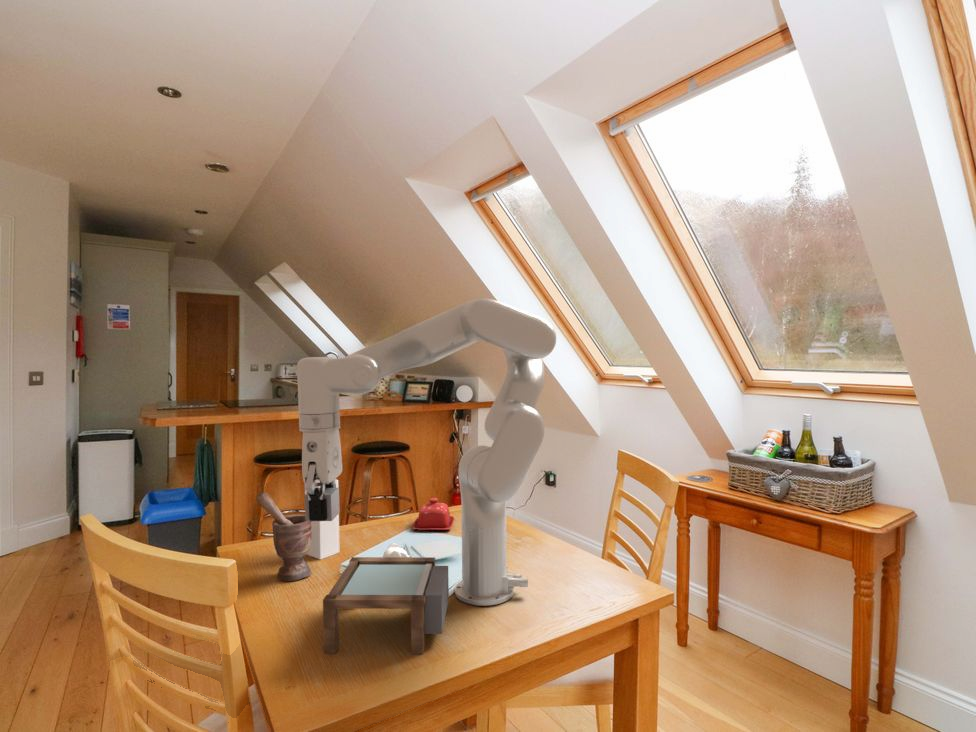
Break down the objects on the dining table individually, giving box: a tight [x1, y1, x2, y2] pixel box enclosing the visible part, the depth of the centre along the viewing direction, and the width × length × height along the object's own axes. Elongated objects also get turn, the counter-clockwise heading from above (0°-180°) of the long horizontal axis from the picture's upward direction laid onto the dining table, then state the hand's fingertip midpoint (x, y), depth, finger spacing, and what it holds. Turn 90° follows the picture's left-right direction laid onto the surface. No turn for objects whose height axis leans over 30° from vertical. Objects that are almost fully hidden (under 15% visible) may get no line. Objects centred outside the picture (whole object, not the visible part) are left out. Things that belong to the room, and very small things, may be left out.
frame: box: [322, 556, 436, 655], centre depth 105 cm, size 17×19×10 cm
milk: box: [304, 478, 340, 560], centre depth 142 cm, size 6×6×22 cm
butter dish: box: [412, 497, 455, 531], centre depth 163 cm, size 12×12×8 cm
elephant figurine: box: [382, 543, 414, 557], centre depth 131 cm, size 7×8×6 cm
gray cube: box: [304, 487, 341, 521], centre depth 107 cm, size 5×5×5 cm
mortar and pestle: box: [256, 491, 312, 582], centre depth 128 cm, size 12×9×20 cm
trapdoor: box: [341, 564, 450, 635], centre depth 105 cm, size 18×15×7 cm
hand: (323, 514), depth 107 cm, fingers closed on gray cube, 5 cm apart
